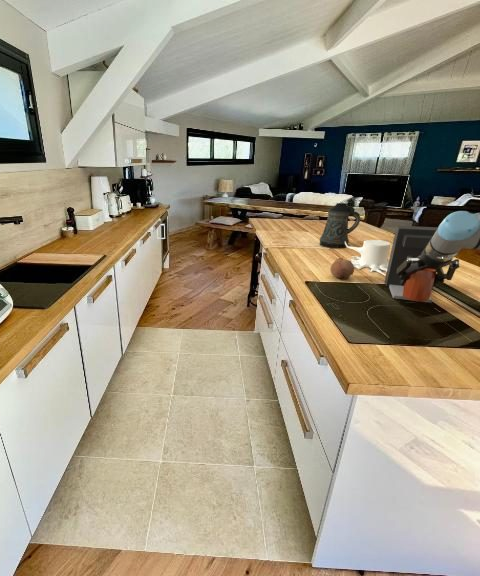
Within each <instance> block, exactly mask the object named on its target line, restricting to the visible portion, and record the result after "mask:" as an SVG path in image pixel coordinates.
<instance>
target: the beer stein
mask: <svg viewBox="0 0 480 576" xmlns="http://www.w3.org/2000/svg"><path fill="white" fill-rule="evenodd" d="M327 215H328V216H327V219H326V223H325V226H324V229H323V231H322V234H321V236H320V237H319V246H321V247H323V248H327V249H328V248H329V249H346V248H347V247H346V245H345V241H346V243H347V245H348V246H349V243H350V239H349V234H350V233H352V232H353V231H354V230H355V229H356V228H357V227H358V226H359V224H360V222H361V215H360V214H359V212H357V211H356V209H355V207H354V206H350V205H347V203H343V202H338V203H336V204H334V206H332V207H331V208H329V209H328V210H327ZM349 217H353V218H354V219H355V222H354V223H353V225H351V226H350V227H349Z"/></svg>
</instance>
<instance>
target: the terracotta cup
mask: <svg viewBox="0 0 480 576" xmlns="http://www.w3.org/2000/svg"><path fill="white" fill-rule="evenodd" d="M436 274H437V272H436V270H435V269H424V270H421V271H420V270H419V271H417V272H415V273H413V274H411V275H408V279H407V280H406V282H405V284H404V288H403V292H402V296H403V297H405V298H407V299H410V300H409V301H412V300H414V301H413V302H420V301H428V300H429V299H430V297H431V296H432V292H433V289H434V287H433V285H434V281H435V278H436Z"/></svg>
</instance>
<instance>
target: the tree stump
mask: <svg viewBox="0 0 480 576" xmlns="http://www.w3.org/2000/svg"><path fill="white" fill-rule="evenodd" d="M345 245H346V247H345V248H347V249H349V250H353V251H355V252H357V253H358V254H360V256H356V255H355V256H354V255H351V258H350V259H348V260H349V261H351V262H352V264H353V266H354V269H357V270H361V269H365V268H370V270H369V272H370V273H372V272H377V273H378V274H380V275H383V276H385V277H386V273H387V268H388V264H389V260H388V259H389V256H390V255H389V254H390V251H391V250H390V249H391V246H392V243H391V242H389V241H386V240H382V239H380V240H379V239H366V240H364V241H363V245H362V246H361V247H356V246H349V244H348V245H347V243H346V241H345ZM384 272H385V273H384Z"/></svg>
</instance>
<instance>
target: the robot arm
mask: <svg viewBox="0 0 480 576" xmlns="http://www.w3.org/2000/svg"><path fill="white" fill-rule="evenodd" d="M437 227H438V229H437V230H436V232H435V234H434V235H433V237H432V238H431V240H430V241H429V243H428V244H427V246H426V247H425V249H424V250H423V252H422V254H421V256H419V257H417V258H412V257H411V256H407V260H405V261H404V262H403V263H402V264H401V265H400V266H399V267H398V268H397V275H398V276H400V280H401V286H403V285H404V283H405V282H406V280H407V279H408V275H411V274H413V273H415V272H417V271H419V270H420V271H421V270H424V269H435V270H436V272H437V274H436V278H435V281H434V285H433V288H434V287H435V286H436V285H437V284H440V283H441V284H442V283H445V280H446V281H451V280H452V279H453V277H454V274H455V272H456V270H457V269H458V268H460V259H458V258H456V259H454V258H455V257H456V256H457V254H458V253H459V252H460V251H461V250H462V249H467V250H468V249H470V250H479V251H480V212H477V213H471V212H469V211H467V210H457V211H454V212H451V213H450V214H448V215H447V216H446V217H445V218H443V220H442V221H441V223H440V224H439V225H438V226H437ZM453 259H454V260H453ZM415 262H416V263H415ZM413 263H415V264H413ZM447 266H448V269H447V271H446V273H444V269H443V268H445V267H447Z"/></svg>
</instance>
